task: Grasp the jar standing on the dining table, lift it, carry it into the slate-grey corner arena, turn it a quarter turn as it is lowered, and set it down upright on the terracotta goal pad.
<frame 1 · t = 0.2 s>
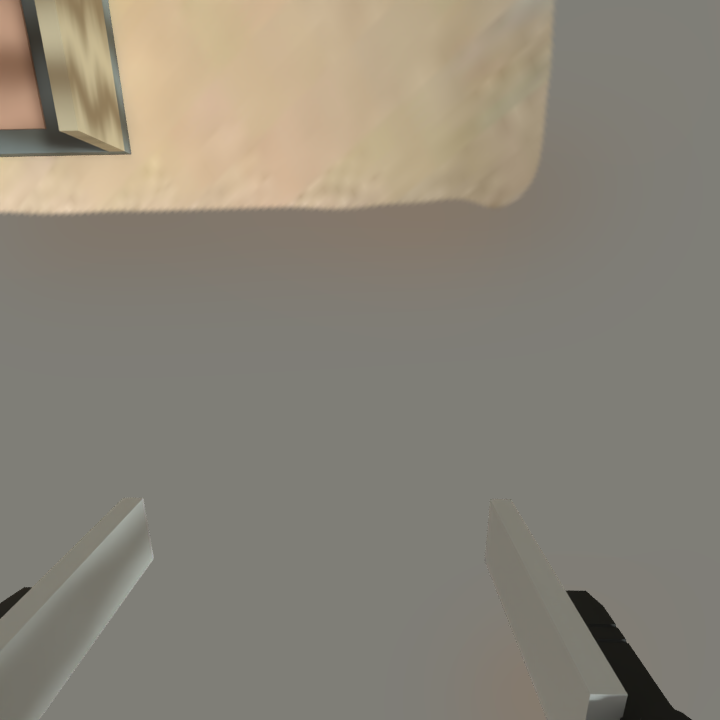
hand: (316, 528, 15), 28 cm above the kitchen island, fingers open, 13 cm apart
arena: (3, 33, 34), on the kitchen island
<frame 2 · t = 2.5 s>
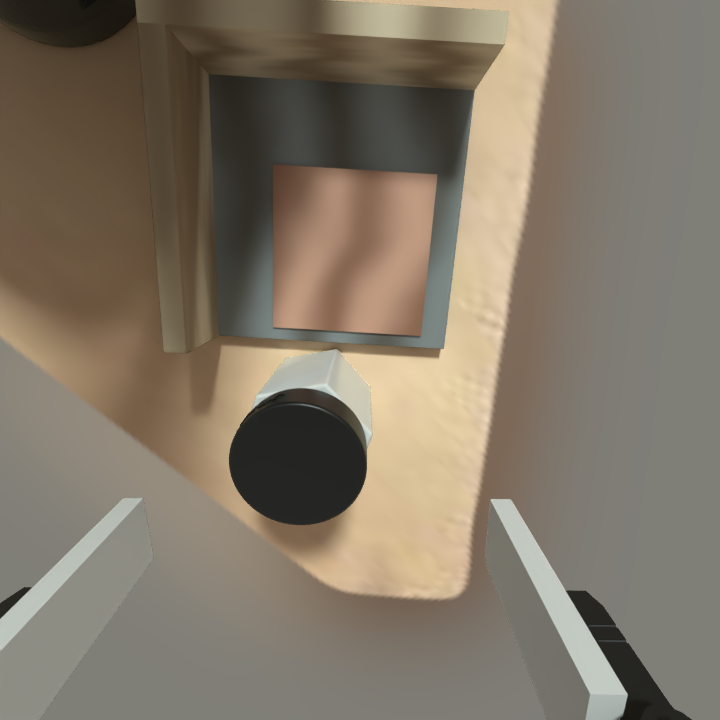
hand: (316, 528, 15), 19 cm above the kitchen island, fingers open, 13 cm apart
arena: (327, 213, 30), on the kitchen island
jar: (320, 394, 34), on the kitchen island
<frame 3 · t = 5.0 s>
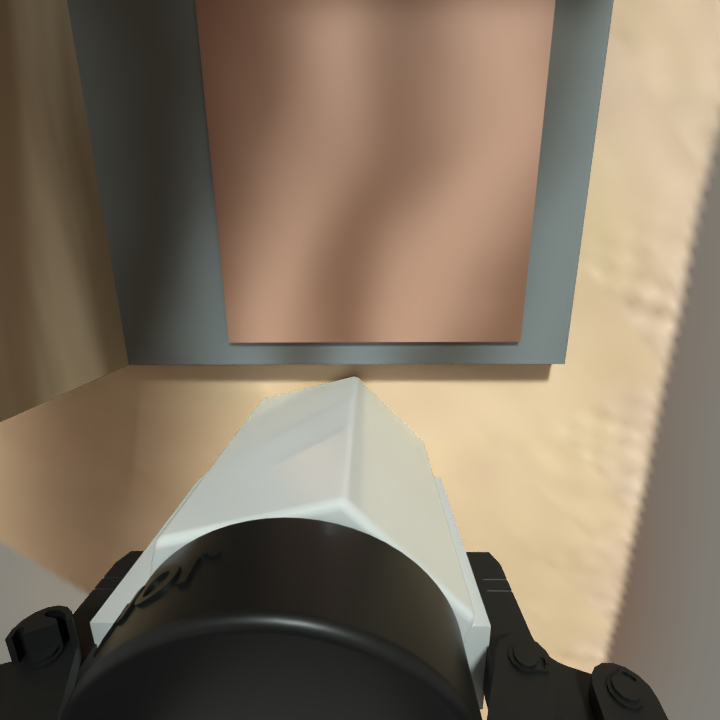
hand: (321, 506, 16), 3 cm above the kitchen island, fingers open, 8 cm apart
arena: (320, 105, 15), on the kitchen island
jar: (332, 458, 19), on the kitchen island, touching gripper
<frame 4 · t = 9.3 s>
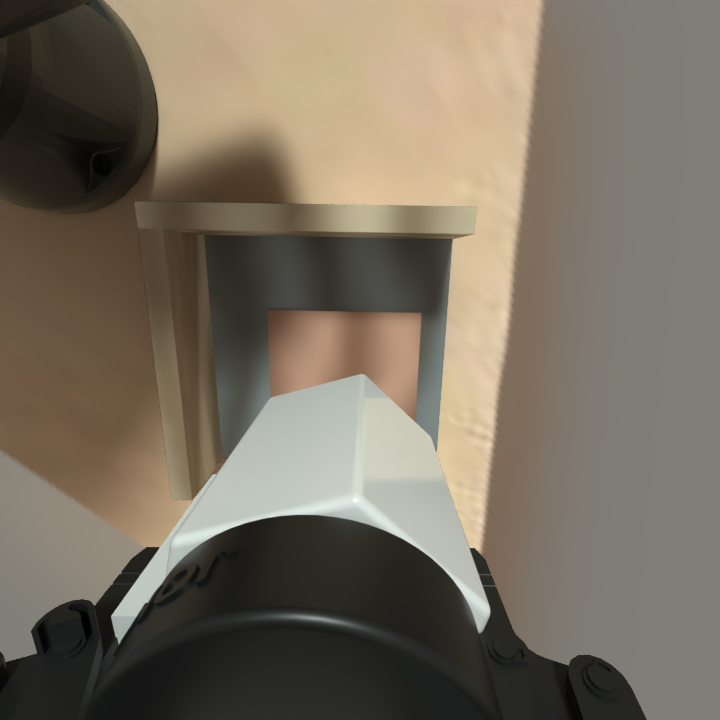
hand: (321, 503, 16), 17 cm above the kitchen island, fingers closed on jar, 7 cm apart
arena: (320, 345, 32), on the kitchen island
jar: (340, 455, 19), point 14 cm above the kitchen island, touching gripper
when the fingers open (5 cm above the kitchen island, at t = 13.1 s): jar stays where it is, point 1 cm above the kitchen island.
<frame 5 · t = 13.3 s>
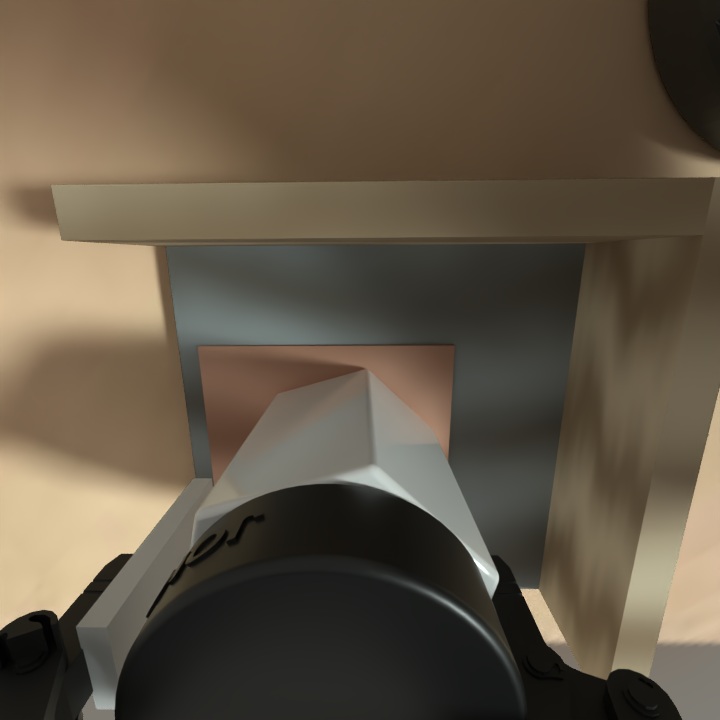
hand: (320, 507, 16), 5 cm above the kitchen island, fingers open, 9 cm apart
arena: (387, 415, 20), on the kitchen island
jar: (345, 450, 19), point 1 cm above the kitchen island, touching gripper
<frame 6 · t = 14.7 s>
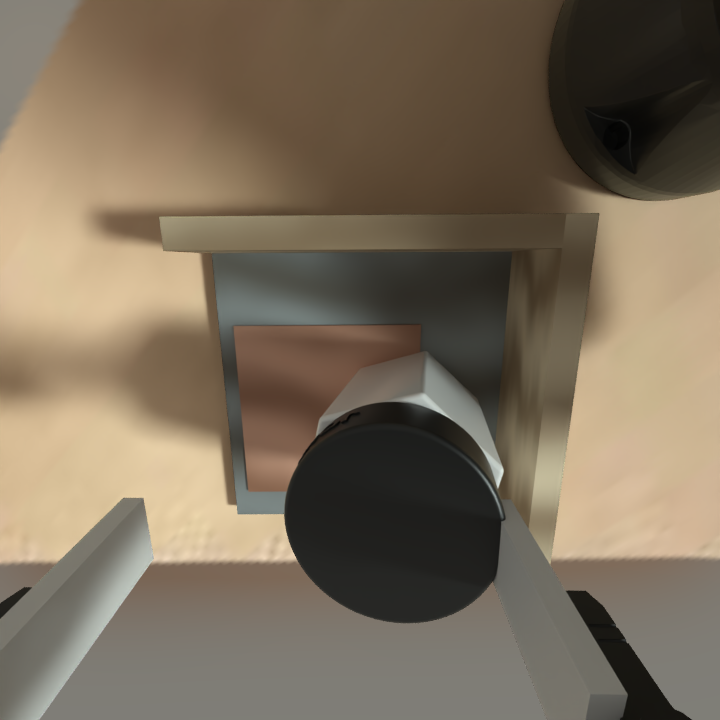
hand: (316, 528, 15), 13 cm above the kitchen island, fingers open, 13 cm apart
arena: (373, 379, 27), on the kitchen island
jar: (409, 414, 25), point 2 cm above the kitchen island, touching arena, gripper
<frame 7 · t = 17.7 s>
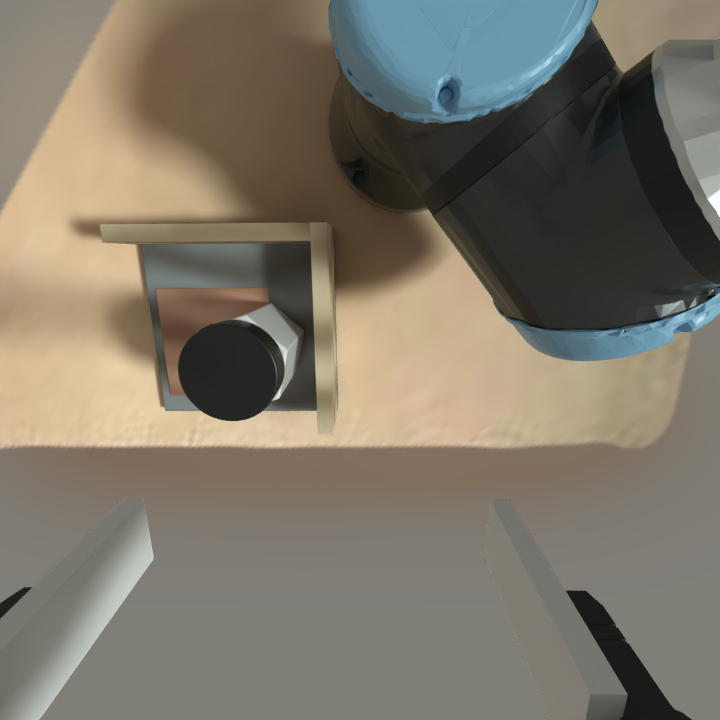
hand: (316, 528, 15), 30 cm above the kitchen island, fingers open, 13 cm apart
arena: (246, 323, 43), on the kitchen island
jar: (266, 342, 42), point 1 cm above the kitchen island, touching arena
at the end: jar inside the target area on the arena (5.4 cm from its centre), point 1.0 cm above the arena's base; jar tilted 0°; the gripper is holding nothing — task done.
